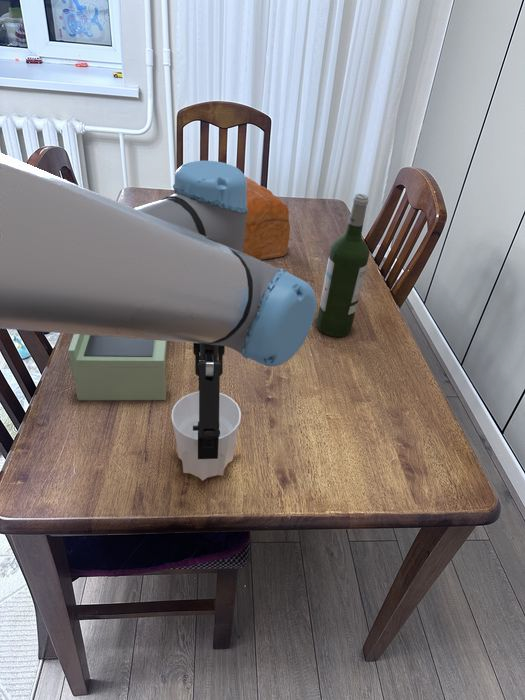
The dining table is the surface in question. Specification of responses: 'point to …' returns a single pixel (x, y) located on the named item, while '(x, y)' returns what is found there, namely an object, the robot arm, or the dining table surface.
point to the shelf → (118, 368)
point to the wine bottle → (344, 275)
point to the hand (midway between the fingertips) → (207, 420)
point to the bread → (265, 224)
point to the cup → (187, 439)
